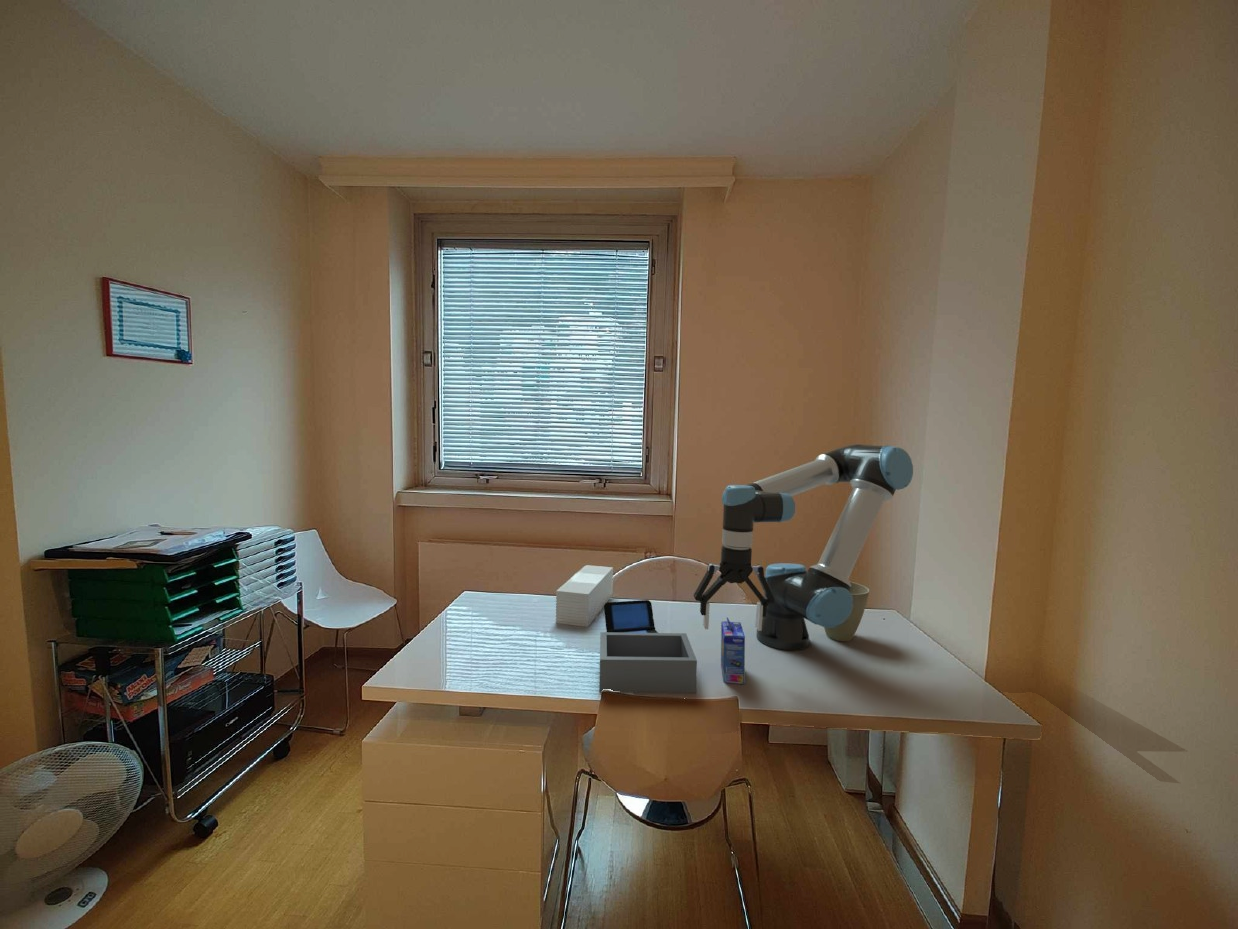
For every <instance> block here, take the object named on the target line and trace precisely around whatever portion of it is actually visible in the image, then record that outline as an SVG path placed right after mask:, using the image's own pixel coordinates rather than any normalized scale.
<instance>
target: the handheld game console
mask: <svg viewBox="0 0 1238 929" xmlns="http://www.w3.org/2000/svg"><path fill="white" fill-rule="evenodd" d="M603 612H604V621H605V630H606V632H617V633H659V632H658V631H657V629H656V627H655V626H656V624H655V620H654V612H653V607H652V602H651V600H649V599H641V600H627V601H626V600H625V601H607V603H605V605H604V606H603Z"/></svg>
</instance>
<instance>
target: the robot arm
mask: <svg viewBox="0 0 1238 929" xmlns="http://www.w3.org/2000/svg"><path fill="white" fill-rule="evenodd" d="M913 475H914V466H913V460H912V458H911V456H910V454H909V453H908V452H907V450H905V449H904V448H902V447H898V446H891V445H886V444H885V445H873V444H872V445H871V444H869V445H868V444H851V445H846V446H842V447H840V448H837V449H834V450H831V451H828V452H824V453H821V454H819V455H818V456H816V458H815V459H814V460H813V461H810V462H807V463H804V464H801V465H799V466H796V467H793V468H791V469H788V470H785V471H782V472H779V473H776V474H773V475H770V476H768V477H766V478H762V479H758V480H757V481H754V482H751V483H748V484H729V485H727V486H726V487H725V489H724V490H723V493H722V495H721V502H722V505H723V510H722V511H723V515H722V533H721V534H722V536H721V543H722V544H723V545H722V546H721V549H720V550H721V552H720V563H719V564H713V563H712V562H709V563H708V564H707V567H706V568H707V570H706V572H705V573H704V575H703V578H702V580H701V581H700V583H699V585H698V587H697V588H696V589H695V592H694V593H693V597H694V599H695V601H697V602H700V605H699V606H700V608H699V613H700V615H701V616H703V624H702V625H703V628H704V629H705V630H709V626H710V624H709V623H710V621H709V620H710V607H711V606H710V605H711V604H710V602H709V600H710V599H711V598H712V597H713V596H714V595H715V594H716V593H717V592H718V591H720V588H722V586H724V585H725V584H726V583H729V584H735V583H737V584H742V583H746V585H747V586H748V587H749V589H750V590H751V591H752V592H753V594H754V595H755V597H756V598H757V599H758V600H759V601H757V602H756V612H755V628H756V639H757V640H758V641H759V642H760V643H762V644H764V645H765V646H768V647H771V648H774V649H779V650H785V651H799V650H803V649H806V648H807V647H809V644H810V635H809V631H808V628H807V624H806V620H807V621H809V622H811V623H812V624H814V625H817V626H820V627H823V628H824V627H826V628H833V627H836V626H838V625H841V624H842V623H843V622H844V621H846V619H847V618H848V617H849V615H850V614H851V611H852V608H853V603H852V601H853V598H852V595H851V594H850V592H849V591H850V589H851V584H850V582H851V581H850V576H851V574H852V572H853V569H854V567H855V565H856V563H857V561H858V559H859V556H860V554H861V552H862V551H863V550H862V549H863V548H864V546H865V543H866V541H867V539H868V537H869V534H870V532H871V530H872V528H873V525H874V524H875V521H876V519H877V517H878V516H879V513H880V511H881V508H882V507H883V505H884V502H886V501H890V500H892V498H893V497H894V495H895V493H896V491H899V490H903V489H905V488H907V487H908V486H909V485H910V484H911V482H912V479H913ZM839 483H849V484H850V487H851V488H852V490H851V492H850V494H849V497H848V498H847V500H846V502H845V504H844V507H843V510H842V512H841V513H840V515H839V517H838V520H837V522H836V524H835V526H834V528H833V531H832V532H831V535H830V537H829V539H828V541H827V542H826V545H825V547H824V549H823V552H822V554H821V556H820V558H819V560H818V562H817V563H816V564H814V565H810V566H809V568H808V570H807V567H806V566H805V565H803V564H800V563H788V562H787V563H784V562H783V563H782V562H781V563H770V564H769V565H767V567H766V568H764V567H763V566H762V565H761V564H759V563H757V564H756V565H752V553H753V549H752V548H751V547H752V546H753V538H754V537H753V535H754V533H753V532H754V524H755V523H756V524H757V523H782V522H788V521H790V520H792V519H793V517H794V516H795V513H796V503H795V500H794V498H793V496H795V495H798V494H802V493H804V492H805V491H806V492H807V491H809V490H812V489H814V488H817V487H819V486H822V485H827V486H833V485H835V484H839ZM764 569H765V570H764ZM718 571H719V572H720V575H718V577H717V579H716V580H715V581H714V582H713V583H712V584H711V585H710V582H711V580H712V579H713V577H714V574H716V573H717V572H718ZM752 573H754V574H755V575H756V576H757V579H758V580H759V583H760V585H761V587H762V590H763V594H762V593H761V592H760V591H759V589H758V588H757V586H755V584H754V583H753V581H752V580H751V578H750V575H751V574H752ZM708 585H710V587H708ZM707 587H708V589H707Z"/></svg>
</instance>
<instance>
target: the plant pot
mask: <svg viewBox="0 0 1238 929" xmlns="http://www.w3.org/2000/svg"><path fill="white" fill-rule="evenodd" d="M849 582H850V584H851V589H850V591H849V592H850V594H851V595H852V598H853V601H852V603H853V608H852V611H851V614H850V615H849V617H848V618H847V619H846V621H844V622H843V623H842V624H841V625H838V626H836V627H833V628H826V627H823V629H824V631H825V634H826V636H827V637H828V638H830V639H832V640H835V641H838V642H850V641H851V640H853V638H854V636H855V634H856V632H857V630H858V628H859V626H860V624H861V621H862V618H863V616H864V613H865V610H866V607H867V602H868V599H869V594H870V589H869V588H868V587H867V586H865V585H862V584H860V583H857V582H853V581H849Z"/></svg>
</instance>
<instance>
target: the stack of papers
mask: <svg viewBox="0 0 1238 929" xmlns="http://www.w3.org/2000/svg"><path fill="white" fill-rule="evenodd" d="M613 572H614V567H613V566H611V567H610V566H609V567H608V566H600V565H589V564H586V565H583V567H582V568H581V569H579V570H578V571H577V572H576V573H575V574H573V575H572V576H571V577H570V578H569V579H568V580H567V581H565V583H563V584H562V585H561V586H560V587H558V589H557V590H556V591H555V593H556V594H555V599H556V600H555V623H556V624H561V625H570V626H571V625H572V626H577V627H578V626H579V627H587V628H588V627H589V626H590V624H591V623H592V622H593V621H594V620H595V618H596V617H597V616H598V615H599V613H600V612H601V610H602V609H604V605H605V603H607V602H609V600H610V599H611V597H612V596H613V590H614V588H613V587H614V586H613V584H614V582H613V580H614V579H613V578H614V576H613V575H614V573H613Z"/></svg>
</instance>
